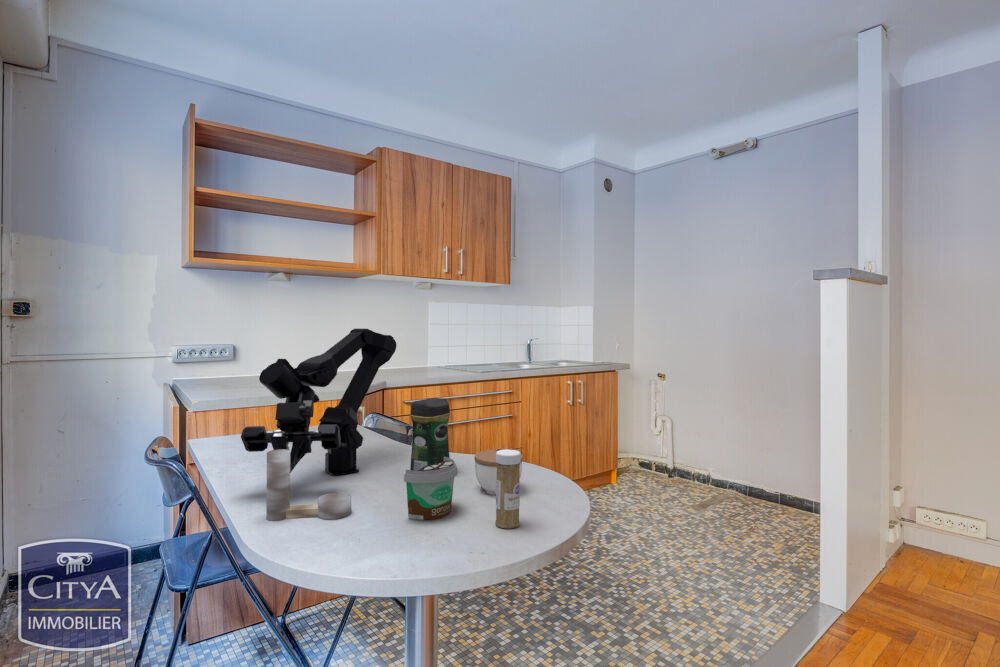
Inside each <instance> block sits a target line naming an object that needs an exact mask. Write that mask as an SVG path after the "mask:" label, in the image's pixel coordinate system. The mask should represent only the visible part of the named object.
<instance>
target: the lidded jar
mask: <svg viewBox="0 0 1000 667" xmlns="http://www.w3.org/2000/svg"><path fill="white" fill-rule="evenodd" d="M499 450H502V447H496V449H488V450H482V451H478V452H477V453H475V454H474V470H475V477H476V480H477V483H478V484H479V486H481V487H482V488H483V490H484V492H485V491H486V492H485V493H487V492H488V494H490V493H491V494H490V495H496V478H497V464H496V452H497V451H499ZM523 461H524V456H523V455H522V454H521V462H520V465H519V466H520V474H519V475H520V476H519V477H520V478H521V477H522V476H521V475H522V472H523Z"/></svg>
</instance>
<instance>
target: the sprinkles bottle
mask: <svg viewBox="0 0 1000 667" xmlns="http://www.w3.org/2000/svg"><path fill="white" fill-rule="evenodd" d="M521 455H522V453H521V452H520V451H519V450H517V449H501V450H499V451H497V452H496V464H497V478H496V494H495V508H496V509H495V510H496V511H495V515H496V517H495V521H494V522H495V526H497V527H499V528H502V529H506V530H507V529H514V528H517V527H518V526H519V525H520V506H521V505H520V504H521V502H520V500H521V495H520V494H521V489H520V488H521V485H520V479H521V477H519V476H520V475H519V474H520V466H519V465H520V462H521Z"/></svg>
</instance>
